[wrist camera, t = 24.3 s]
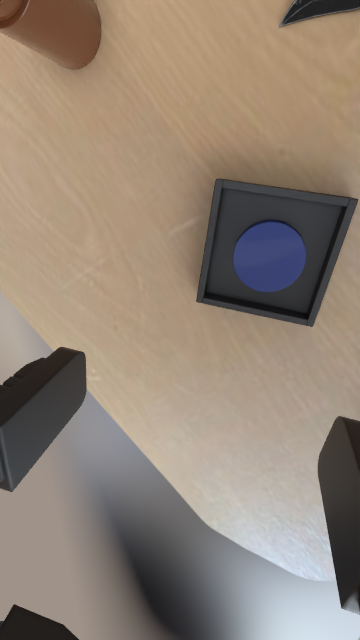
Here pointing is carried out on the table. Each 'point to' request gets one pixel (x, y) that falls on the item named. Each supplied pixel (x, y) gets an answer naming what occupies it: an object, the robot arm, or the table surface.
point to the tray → (285, 205)
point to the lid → (269, 255)
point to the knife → (316, 9)
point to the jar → (54, 28)
